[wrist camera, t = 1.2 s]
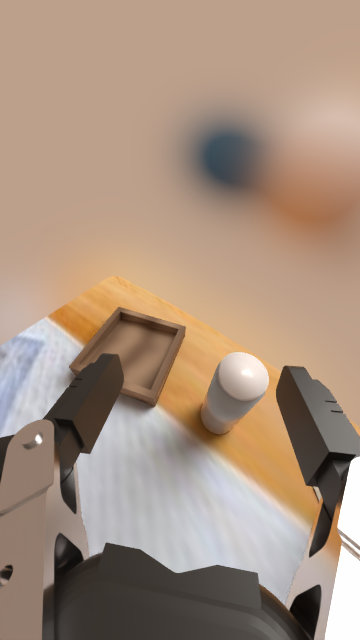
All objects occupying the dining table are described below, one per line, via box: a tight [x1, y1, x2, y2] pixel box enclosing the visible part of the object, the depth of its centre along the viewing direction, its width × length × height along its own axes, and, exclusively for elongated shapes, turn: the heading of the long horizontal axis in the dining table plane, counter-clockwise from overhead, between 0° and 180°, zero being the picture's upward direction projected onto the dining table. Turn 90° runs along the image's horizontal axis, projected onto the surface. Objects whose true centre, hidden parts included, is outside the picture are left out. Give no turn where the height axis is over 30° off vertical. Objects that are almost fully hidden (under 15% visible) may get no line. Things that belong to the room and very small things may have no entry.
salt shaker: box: [200, 352, 269, 434], centre depth 23 cm, size 5×5×13 cm
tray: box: [69, 307, 186, 406], centre depth 33 cm, size 14×14×3 cm
